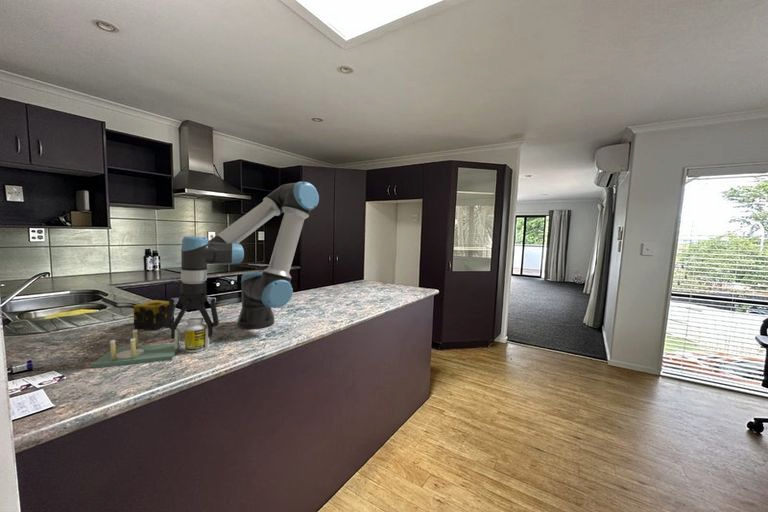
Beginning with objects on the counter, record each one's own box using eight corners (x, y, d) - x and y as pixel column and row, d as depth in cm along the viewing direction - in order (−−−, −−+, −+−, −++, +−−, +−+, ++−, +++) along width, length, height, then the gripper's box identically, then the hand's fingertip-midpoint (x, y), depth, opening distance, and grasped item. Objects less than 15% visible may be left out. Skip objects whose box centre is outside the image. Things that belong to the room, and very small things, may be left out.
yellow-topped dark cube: (154, 322, 135) (154, 299, 135) (175, 323, 134) (174, 301, 133) (133, 329, 125) (132, 305, 125) (155, 331, 124) (154, 306, 123)
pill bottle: (196, 354, 103) (195, 322, 102) (180, 352, 104) (179, 320, 103) (210, 347, 109) (209, 316, 108) (195, 345, 110) (194, 315, 109)
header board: (181, 346, 109) (181, 325, 109) (171, 359, 98) (171, 337, 97) (111, 352, 102) (110, 331, 102) (92, 368, 91) (91, 344, 90)
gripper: (229, 280, 112) (227, 341, 113) (160, 279, 104) (159, 344, 106) (227, 283, 105) (224, 348, 106) (152, 283, 97) (151, 352, 99)
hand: (192, 346), depth 106 cm, fingers open, 8 cm apart
